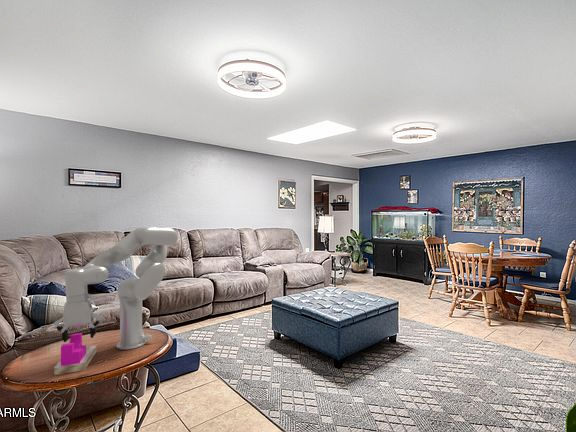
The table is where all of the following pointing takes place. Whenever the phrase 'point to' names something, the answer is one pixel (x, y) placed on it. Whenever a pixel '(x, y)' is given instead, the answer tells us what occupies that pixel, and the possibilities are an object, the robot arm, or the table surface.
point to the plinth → (76, 367)
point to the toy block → (73, 350)
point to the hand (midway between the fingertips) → (79, 338)
